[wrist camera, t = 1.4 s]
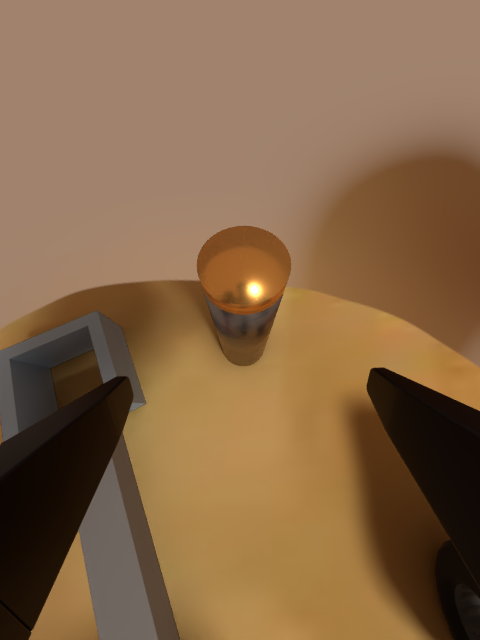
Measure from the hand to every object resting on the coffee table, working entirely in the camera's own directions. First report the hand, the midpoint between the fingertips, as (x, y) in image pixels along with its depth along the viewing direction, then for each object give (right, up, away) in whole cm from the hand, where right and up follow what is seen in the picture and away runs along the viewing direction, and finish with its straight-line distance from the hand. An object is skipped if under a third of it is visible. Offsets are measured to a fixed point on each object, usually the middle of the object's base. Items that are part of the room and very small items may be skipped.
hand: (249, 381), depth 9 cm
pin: (0, 0, +13) cm, 13 cm away
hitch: (-10, -10, +9) cm, 17 cm away
